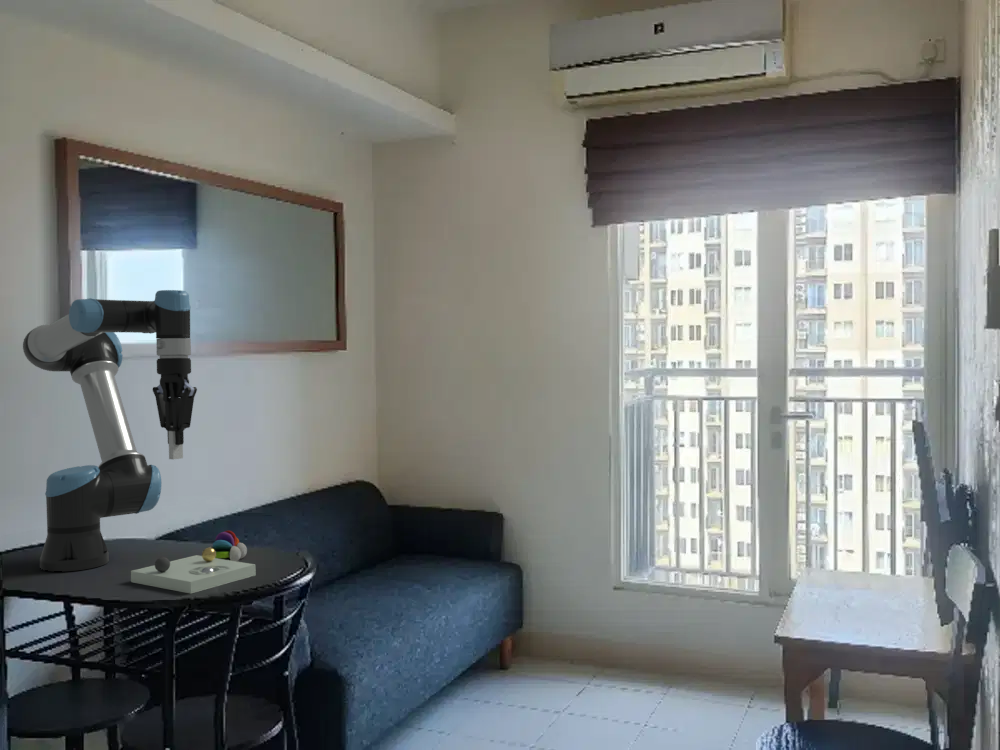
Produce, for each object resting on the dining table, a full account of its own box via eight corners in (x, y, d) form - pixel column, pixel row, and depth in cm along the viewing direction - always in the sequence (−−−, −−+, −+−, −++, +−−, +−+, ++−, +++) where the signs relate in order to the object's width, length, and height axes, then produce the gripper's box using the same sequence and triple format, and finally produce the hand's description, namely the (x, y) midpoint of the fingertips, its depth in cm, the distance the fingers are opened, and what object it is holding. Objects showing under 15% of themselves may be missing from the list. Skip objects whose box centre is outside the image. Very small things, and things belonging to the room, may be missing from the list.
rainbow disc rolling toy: (250, 556, 228) (249, 527, 228) (235, 565, 219) (234, 535, 219) (217, 556, 229) (216, 527, 229) (201, 565, 220) (200, 535, 219)
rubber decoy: (151, 572, 202) (151, 558, 201) (164, 569, 204) (163, 555, 204) (161, 574, 200) (160, 559, 200) (173, 571, 203) (173, 556, 202)
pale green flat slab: (131, 582, 203) (130, 570, 203) (196, 565, 219) (196, 555, 218) (191, 593, 193) (190, 581, 193) (255, 575, 208) (255, 564, 208)
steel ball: (195, 572, 203) (203, 566, 201) (206, 569, 205) (214, 563, 204) (200, 585, 202) (208, 579, 200) (212, 582, 205) (220, 576, 203)
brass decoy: (198, 561, 211) (198, 548, 211) (209, 559, 214) (209, 545, 214) (208, 563, 210) (207, 549, 209) (219, 560, 212) (219, 547, 212)
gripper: (141, 357, 212) (144, 459, 213) (178, 357, 205) (181, 461, 206) (169, 357, 218) (171, 455, 219) (205, 356, 211) (207, 458, 212)
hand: (176, 458), depth 212 cm, fingers closed
